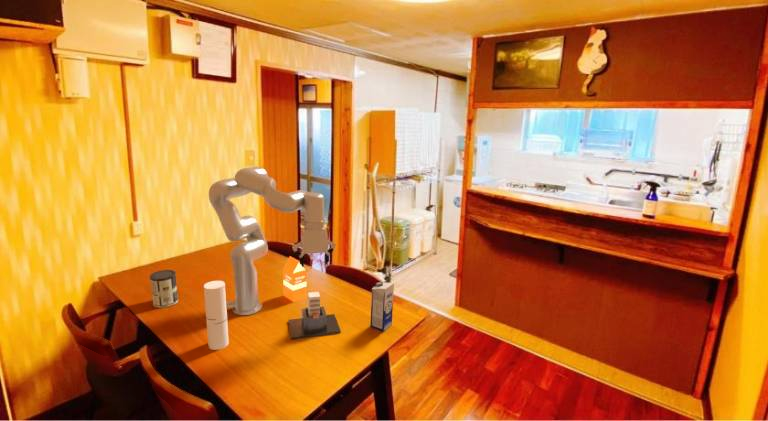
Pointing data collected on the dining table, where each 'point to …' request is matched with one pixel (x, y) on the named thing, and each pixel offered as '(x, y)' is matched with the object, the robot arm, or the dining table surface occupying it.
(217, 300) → the cylindrical container
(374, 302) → the milk carton
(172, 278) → the coffee can
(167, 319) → the dining table surface
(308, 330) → the stand base
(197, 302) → the dining table surface
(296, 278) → the orange juice
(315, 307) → the column
